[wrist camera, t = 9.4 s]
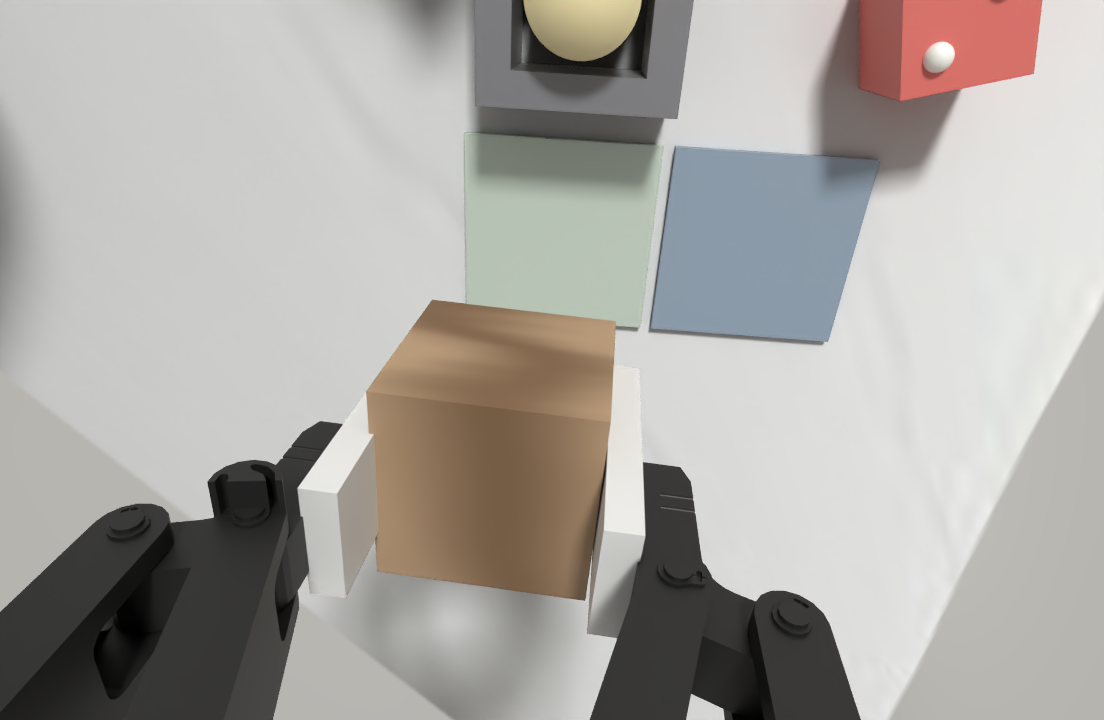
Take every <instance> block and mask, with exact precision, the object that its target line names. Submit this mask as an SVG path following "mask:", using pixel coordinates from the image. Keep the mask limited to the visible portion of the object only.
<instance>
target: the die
mask: <svg viewBox="0 0 1104 720" xmlns="http://www.w3.org/2000/svg"><path fill="white" fill-rule="evenodd" d="M1041 7H1042V0H859V88H860V89H863V90H866V91H869V92H872V93H875V94H879V95H882V96H885V97H888V98H891V99H895V100H898V101H904V100H909V99H914V98H919V97H924V96H928V95H933V94H938V93H943V92H948V91H953V90H958V89H962V88H967V87H972V86H977V85H982V84H987V83H991V82H996V81H1001V80H1006V79H1011V78H1016V77H1021V76H1025V75H1030V74H1034V67H1035V59H1036V50H1037V41H1038V33H1039V24H1040V16H1041Z"/></svg>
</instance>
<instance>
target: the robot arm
mask: <svg viewBox="0 0 1104 720" xmlns="http://www.w3.org/2000/svg"><path fill="white" fill-rule="evenodd" d="M401 343H402V342H401ZM208 487H209V493H210V498H211V503H212V508H213V513H214V518H210V519H204V520H196V521H185V522H175V523H171V522H170V518H169V514H168V512H166V510H165V509H164V508H163V507H160V506H157V505H153V504H134V505H130V506H125V507H121V508H119V509H116V510H114V511H112V512H109V513H107V514H106V515H104V516H103V517H101V518H100V519H99V520H97V521H96V522H95V523H94V524H93V525H91V526H90V527H89V528H88V529H87V530H86V531H85V532H84V533H83V534H82V535H81V536H80V537H79V538H78V539H77V540H76V541H75V542H73V544H71V545H70V546H69V547H68V548H67V549H66V550H65V551H64V552H63V553H62V554H61V555H60V556H59V557H58V558H57V559H56V560H54V561H53V562H52V563H51V564H50V565H49V566H48V567H47V568H46V569H45V570H44V571H43V572H42V573H41V574H40V575H39V576H38V577H37V578H36V579H34V580H33V581H32V582H31V583H30V584H29V585H28V586H27V587H26V588H25V589H24V590H23V591H22V592H21V593H20V594H19V595H18V596H17V597H16V598H15V599H13V600H12V601H11V602H10V603H9V604H8V605H7V606H6V607H5V608H4V609H3V610H2V611H1V612H0V720H273V716H274V712H275V708H276V704H277V699H278V695H279V691H280V687H281V682H282V678H283V674H284V669H285V666H286V661H287V657H288V653H289V649H290V644H291V640H292V636H293V632H294V627H295V623H296V619H297V615H298V610H299V598H298V589H299V588H300V586H301V584H302V582H303V581H304V579H305V577H306V576H307V574H308V581H309V590H310V593H312V594H319V595H326V596H333V597H340V598H346V597H347V595H348V593H349V591H350V589H351V587H352V585H353V583H354V581H355V579H356V577H357V575H358V573H359V571H360V568H361V566H362V564H363V562H364V560H365V558H366V556H367V554H368V552H369V550H370V548H371V546H372V544H373V542H374V540H375V538H376V536H377V534H378V532H379V527H378V507H377V487H376V467H375V446H374V434H369V429H368V413H367V397H366V393H365V394H364V396H363V397H362V398H361V400H360V401H359V403H358V404H357V405H356V407H355V408H354V410H353V411H352V412H351V414H350V415H349V417H348V418H347V419H346V421H345V422H344V424H338V423H330V422H322V421H320V422H318V423H317V424H315V425H313V426H312V427H310V428H308V429H307V430H305V431H303V432H302V433H301V435H300V436H299V437H298V438H297V440H296V441H295V442H294V443H293V445H292V448H289V450H288V451H287V452H286V453H285V455H284V456H283V459H281V460H280V461H279V462H278V463H277V464H276V465H274V464H272V463H270V462H267V461H259V460H250V461H242V462H237V463H235V464H232V465H229V466H226V467H224V468H223V469H221V470H219V471H218V472H216V473H215V474H214V475H213V476H212V477H211V478H210V480H209V481H208ZM587 634H594V635H601V636H607V637H614V638H617V641H616V644H615V647H614V650H613V653H612V656H611V659H610V662H609V665H608V668H607V671H606V674H605V677H604V680H603V682H602V685H601V688H600V691H599V694H598V697H597V700H596V703H595V706H594V709H593V712H592V715H591V718H590V720H686V716H687V711H688V706H689V701H690V696H691V694H693V695H695V696H697V697H699V698H702V699H704V700H706V701H708V702H710V703H712V704H714V705H717V706H719V707H721V708H723V709H724V717H725V720H861V719H860V716H859V713H858V710H857V707H856V704H855V701H854V698H853V695H852V691H851V688H850V685H849V682H848V679H847V676H846V673H845V670H844V667H843V664H842V661H841V658H840V654H839V651H838V648H837V645H836V642H835V639H834V636H833V633H832V630H831V627H830V624H829V622H828V621H827V619H826V617H825V615H824V613H823V612H822V611H820V610H819V609H818V608H817V607H816V606H815V605H814V604H813V603H812V602H810V601H808V600H807V599H805V598H803V597H801V596H800V595H797V594H794V593H790V592H787V591H770V592H767V593H765V594H762V595H761V596H760V597H759V598H758V600H757V601H756V602H755V601H753V600H750V599H748V598H745V597H743V596H740V595H738V594H735V593H733V592H731V591H729V590H727V589H725V588H724V587H722V586H721V585H720V584H718V583H717V582H716V581H715V580H714V579H713V578H712V576H711V574H710V572H709V570H708V569H707V567H706V565H705V564H703V562H702V558H701V551H700V544H699V537H698V530H697V522H696V515H695V508H694V501H693V494H692V487H691V482H690V480H689V479H688V477H687V476H686V475H685V473H684V472H683V471H682V469H681V468H680V467H675V466H667V465H660V464H652V463H645V462H643V453H642V425H641V396H640V368H635V367H627V366H619V365H614V369H613V389H612V409H611V425H610V431H609V438H608V445H607V452H606V459H605V466H604V473H603V480H602V487H601V494H600V501H599V508H598V515H597V522H596V529H595V536H594V543H593V553H592V568H591V583H590V598H589V613H588V628H587Z"/></svg>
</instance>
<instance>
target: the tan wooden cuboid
mask: <svg viewBox="0 0 1104 720" xmlns="http://www.w3.org/2000/svg"><path fill="white" fill-rule="evenodd" d="M615 329H616V321H610V320H602V319H593V318H584V317H576V316H567V315H559V314H550V313H541V312H533V311H524V310H515V309H507V308H498V307H490V306H481V305H472V304H464V303H455V302H447V301H438V300H432V301H431V302H430V304H429V305H428V307H427V308H426V309H425V311H424V312H423V313H422V315H421V316H420V318H419V319H418V320H417V322H416V323H415V325H414V326H413V327H412V329H411V330H410V331H409V333H408V334H407V336H406V337H405V338H404V340H403V341H402V343H401V344H400V345H399V347H398V348H397V349H396V351H395V352H394V354H393V355H392V356H391V358H390V359H389V361H388V362H387V363H386V365H385V366H384V367H383V369H382V370H381V372H380V373H379V374H378V376H377V377H376V379H375V380H374V381H373V383H372V384H371V385H370V387H369V388H368V390H367V391H366V397H367V413H368V429H369V434H374V446H375V467H376V487H377V507H378V527H379V532H378V534H377V536H376V538H375V541H376V557H377V571H379V572H386V573H393V574H400V575H407V576H414V577H421V578H429V579H436V580H443V581H450V582H457V583H464V584H471V585H478V586H485V587H492V588H499V589H506V590H513V591H520V592H527V593H534V594H541V595H549V596H556V597H563V598H570V599H577V600H584V601H585V598H586V591H587V584H588V577H589V570H590V563H591V556H592V550H593V543H594V536H595V529H596V522H597V515H598V508H599V501H600V494H601V487H602V480H603V473H604V466H605V459H606V452H607V445H608V438H609V431H610V425H611V409H612V389H613V369H614V349H615Z"/></svg>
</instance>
